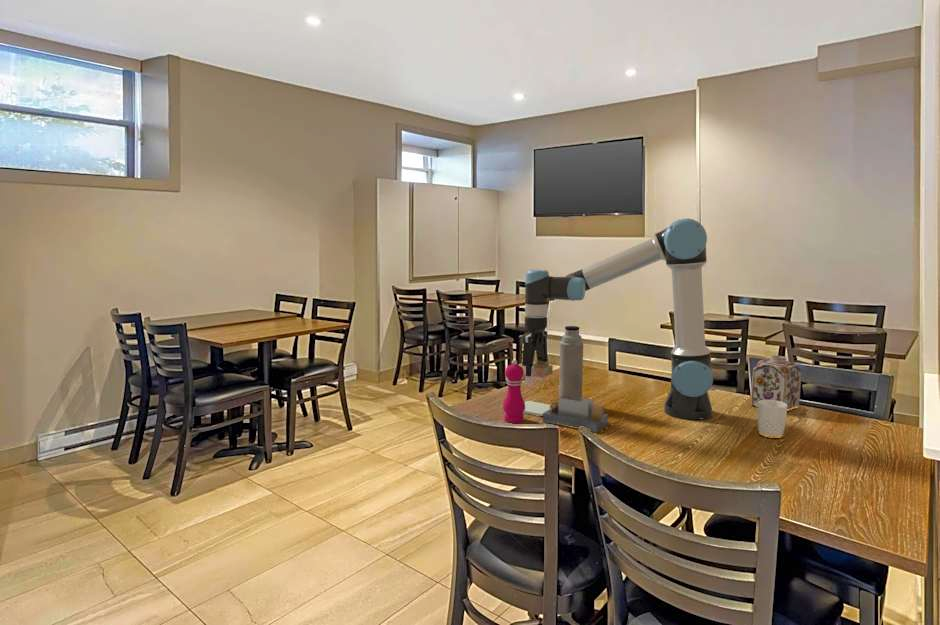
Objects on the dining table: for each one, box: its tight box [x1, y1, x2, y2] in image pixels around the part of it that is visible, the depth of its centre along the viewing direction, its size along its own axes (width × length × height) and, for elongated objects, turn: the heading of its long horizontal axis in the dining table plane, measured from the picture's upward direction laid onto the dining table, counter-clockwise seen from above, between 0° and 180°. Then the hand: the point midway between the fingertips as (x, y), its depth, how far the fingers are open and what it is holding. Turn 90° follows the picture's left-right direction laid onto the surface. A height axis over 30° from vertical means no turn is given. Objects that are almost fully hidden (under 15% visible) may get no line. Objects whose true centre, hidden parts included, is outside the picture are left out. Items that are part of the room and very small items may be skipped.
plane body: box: [542, 395, 609, 434], centre depth 189 cm, size 18×10×8 cm, turn 58°
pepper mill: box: [502, 359, 525, 424], centre depth 191 cm, size 7×7×20 cm
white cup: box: [757, 400, 788, 436], centre depth 177 cm, size 8×8×10 cm
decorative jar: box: [750, 355, 802, 409], centre depth 205 cm, size 12×12×18 cm
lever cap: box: [517, 360, 554, 379], centre depth 200 cm, size 10×7×4 cm
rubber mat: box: [522, 400, 550, 417], centre depth 202 cm, size 11×11×1 cm
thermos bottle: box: [558, 325, 584, 399], centre depth 206 cm, size 8×8×28 cm
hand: (534, 382), depth 201 cm, fingers closed on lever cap, 7 cm apart
